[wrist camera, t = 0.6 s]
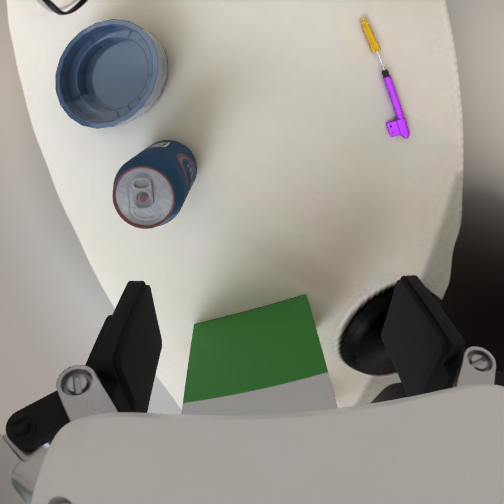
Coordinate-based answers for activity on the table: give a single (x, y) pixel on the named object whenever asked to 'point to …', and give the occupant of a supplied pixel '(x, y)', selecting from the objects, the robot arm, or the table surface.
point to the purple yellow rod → (400, 122)
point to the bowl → (110, 74)
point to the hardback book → (258, 363)
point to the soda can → (154, 184)
